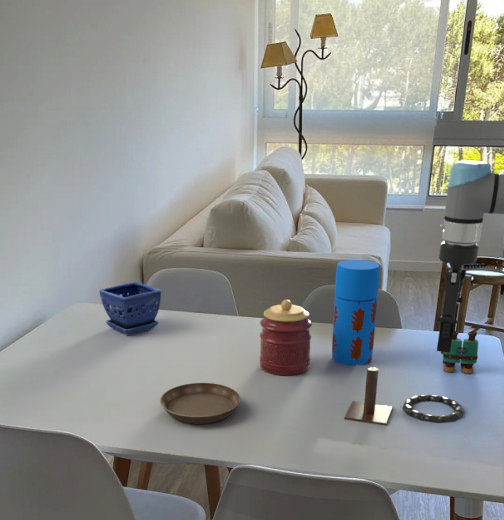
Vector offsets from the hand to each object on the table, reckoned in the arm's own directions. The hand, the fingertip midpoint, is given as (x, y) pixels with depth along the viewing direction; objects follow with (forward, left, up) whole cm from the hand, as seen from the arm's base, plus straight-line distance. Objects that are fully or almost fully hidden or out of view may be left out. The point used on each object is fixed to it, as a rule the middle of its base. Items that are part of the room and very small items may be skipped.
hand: (446, 341), depth 153 cm
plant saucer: (+50, +20, -16) cm, 56 cm away
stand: (+14, +11, -16) cm, 24 cm away
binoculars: (-2, -27, -16) cm, 32 cm away
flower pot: (+91, -26, -16) cm, 96 cm away
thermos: (+25, -24, -16) cm, 38 cm away
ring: (+1, +4, -15) cm, 15 cm away
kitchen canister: (+40, -12, -16) cm, 45 cm away
